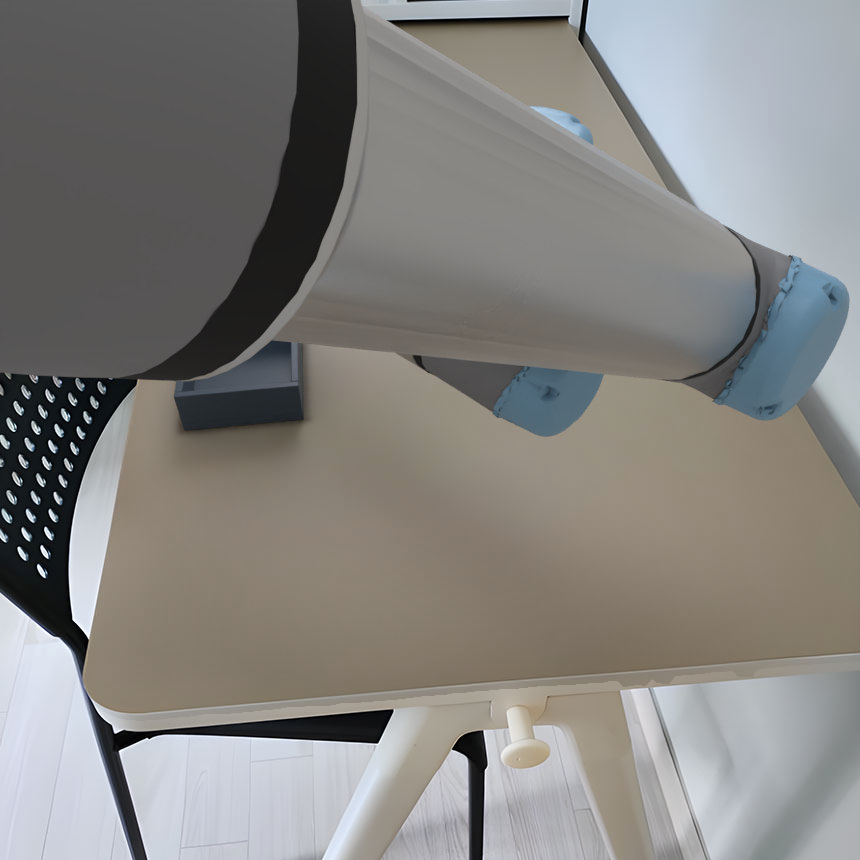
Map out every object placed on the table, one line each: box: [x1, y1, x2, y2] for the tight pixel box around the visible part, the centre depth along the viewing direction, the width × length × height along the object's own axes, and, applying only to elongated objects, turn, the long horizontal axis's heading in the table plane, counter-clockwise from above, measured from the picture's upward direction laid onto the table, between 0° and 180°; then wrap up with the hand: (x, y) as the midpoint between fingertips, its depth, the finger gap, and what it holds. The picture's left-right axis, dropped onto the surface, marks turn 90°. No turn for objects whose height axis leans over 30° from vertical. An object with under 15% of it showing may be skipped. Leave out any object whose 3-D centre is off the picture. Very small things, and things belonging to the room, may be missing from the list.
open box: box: [173, 340, 305, 431], centre depth 83 cm, size 13×11×4 cm
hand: (215, 194), depth 71 cm, fingers closed on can, 7 cm apart
